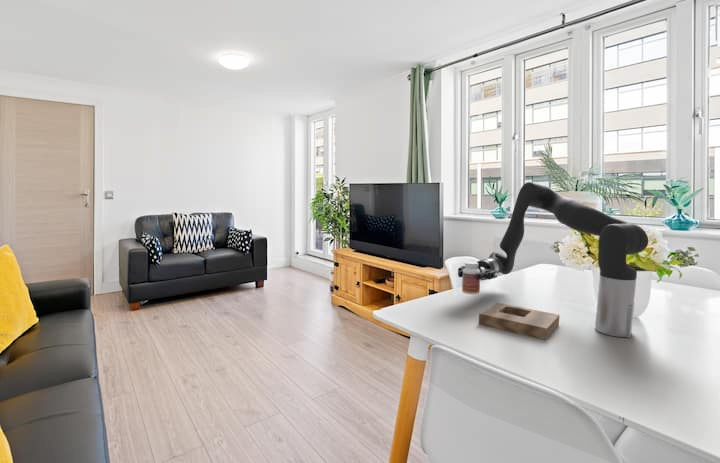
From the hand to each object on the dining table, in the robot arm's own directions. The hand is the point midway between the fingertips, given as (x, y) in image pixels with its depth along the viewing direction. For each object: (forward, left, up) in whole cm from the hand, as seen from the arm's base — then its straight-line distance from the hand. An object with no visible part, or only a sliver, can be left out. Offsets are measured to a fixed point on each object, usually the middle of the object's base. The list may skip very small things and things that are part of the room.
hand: (468, 275), depth 139 cm
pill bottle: (0, -2, -7) cm, 7 cm away
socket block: (-20, +5, -12) cm, 24 cm away
